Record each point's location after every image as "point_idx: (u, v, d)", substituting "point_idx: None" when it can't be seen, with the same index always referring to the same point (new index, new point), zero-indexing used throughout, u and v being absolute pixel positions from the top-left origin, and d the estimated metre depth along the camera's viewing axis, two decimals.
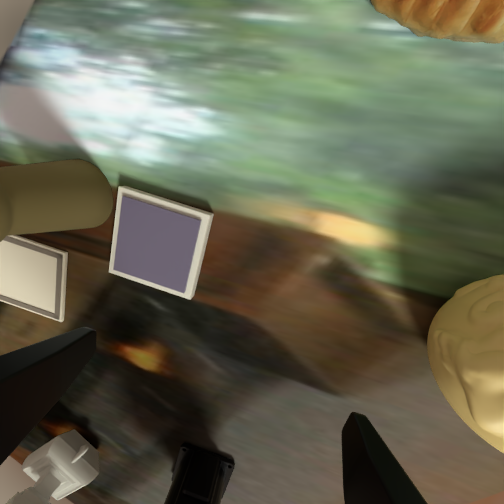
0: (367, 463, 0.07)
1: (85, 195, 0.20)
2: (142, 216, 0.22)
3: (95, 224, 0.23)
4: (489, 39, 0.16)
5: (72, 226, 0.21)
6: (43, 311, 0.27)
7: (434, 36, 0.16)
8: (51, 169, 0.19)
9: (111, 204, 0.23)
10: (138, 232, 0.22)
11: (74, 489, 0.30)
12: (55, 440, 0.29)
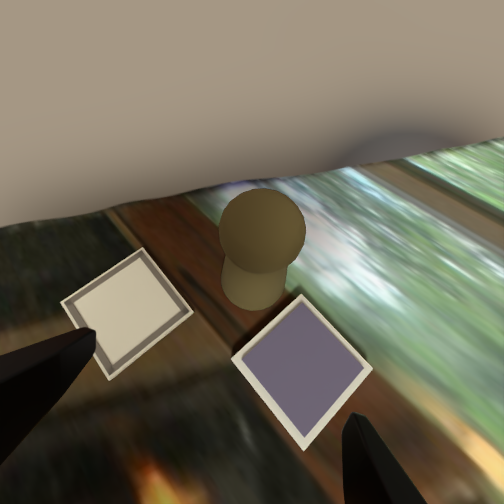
0: (367, 463, 0.07)
1: (283, 283, 0.21)
2: (309, 329, 0.21)
3: (252, 307, 0.22)
4: None
5: (254, 297, 0.20)
6: (103, 353, 0.21)
7: None
8: None
9: (274, 301, 0.23)
10: (296, 340, 0.21)
11: None
12: None
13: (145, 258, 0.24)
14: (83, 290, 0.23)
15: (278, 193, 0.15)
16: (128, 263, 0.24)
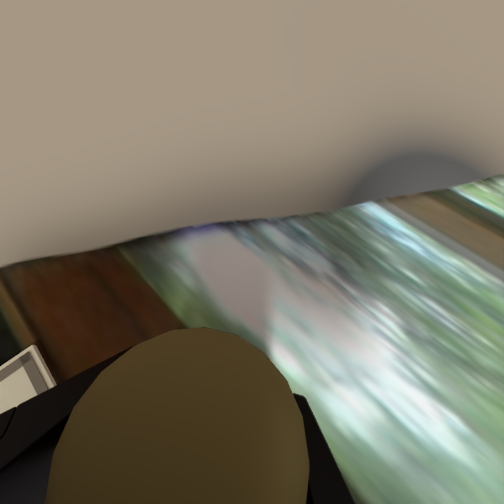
0: None
1: None
2: None
3: None
4: None
5: None
6: None
7: None
8: None
9: None
10: None
11: None
12: None
13: (33, 367, 0.14)
14: None
15: (231, 363, 0.05)
16: (1, 378, 0.14)
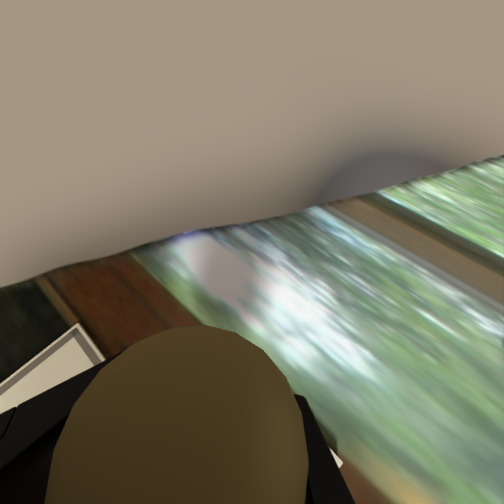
0: None
1: None
2: None
3: None
4: None
5: None
6: None
7: None
8: None
9: None
10: None
11: None
12: None
13: (80, 337, 0.21)
14: (4, 385, 0.19)
15: (230, 360, 0.05)
16: (60, 345, 0.20)
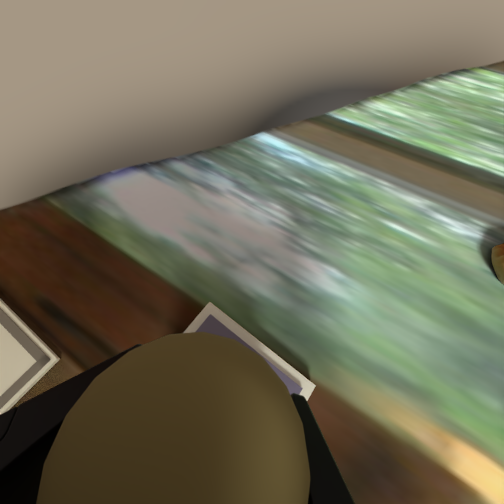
0: None
1: None
2: None
3: None
4: None
5: None
6: None
7: None
8: None
9: None
10: None
11: None
12: None
13: None
14: None
15: (229, 368, 0.05)
16: None
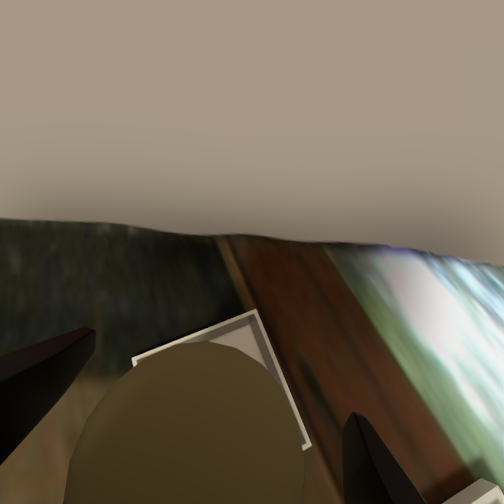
0: (367, 463, 0.07)
1: None
2: None
3: None
4: None
5: None
6: None
7: None
8: None
9: None
10: None
11: None
12: None
13: (256, 328, 0.17)
14: None
15: (231, 375, 0.06)
16: (232, 328, 0.16)
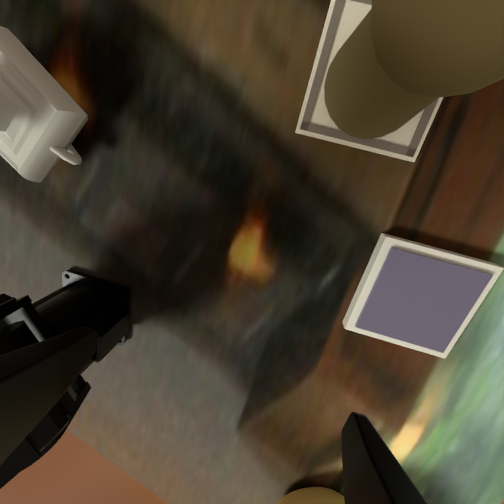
0: (367, 463, 0.07)
1: (404, 121, 0.14)
2: (460, 295, 0.18)
3: (342, 125, 0.16)
4: None
5: (355, 114, 0.14)
6: (314, 102, 0.17)
7: None
8: None
9: (372, 136, 0.17)
10: (440, 287, 0.18)
11: None
12: (79, 114, 0.17)
13: None
14: None
15: None
16: None
